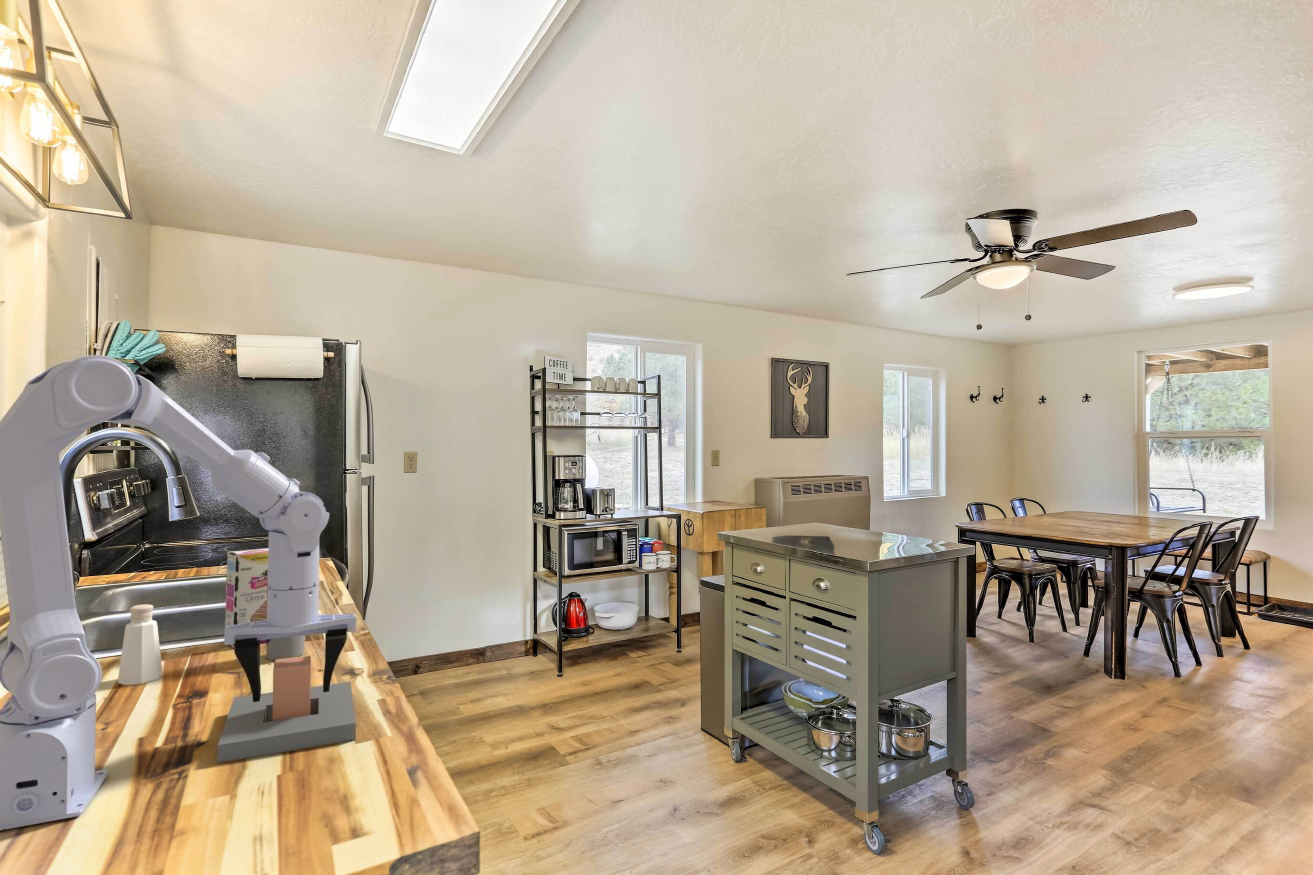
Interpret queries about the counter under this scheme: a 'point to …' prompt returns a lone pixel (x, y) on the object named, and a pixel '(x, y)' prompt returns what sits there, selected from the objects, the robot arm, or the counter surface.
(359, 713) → the counter surface
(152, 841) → the counter surface
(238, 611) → the candy bar box
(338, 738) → the socket block
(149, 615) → the pepper shaker
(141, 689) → the counter surface
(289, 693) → the terracotta peg
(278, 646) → the lotion bottle
